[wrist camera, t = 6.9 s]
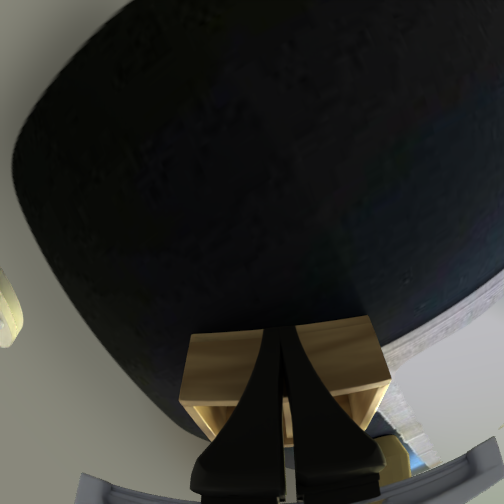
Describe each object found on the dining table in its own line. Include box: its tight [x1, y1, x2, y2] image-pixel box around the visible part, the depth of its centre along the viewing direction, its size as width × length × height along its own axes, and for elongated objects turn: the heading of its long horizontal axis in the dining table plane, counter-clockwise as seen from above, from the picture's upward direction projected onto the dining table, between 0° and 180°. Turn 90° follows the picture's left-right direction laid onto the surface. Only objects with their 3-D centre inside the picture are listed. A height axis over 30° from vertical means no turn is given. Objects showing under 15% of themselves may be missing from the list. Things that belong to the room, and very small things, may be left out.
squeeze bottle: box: [368, 435, 411, 504], centre depth 21 cm, size 8×8×18 cm
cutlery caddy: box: [179, 315, 392, 447], centre depth 15 cm, size 8×10×4 cm
